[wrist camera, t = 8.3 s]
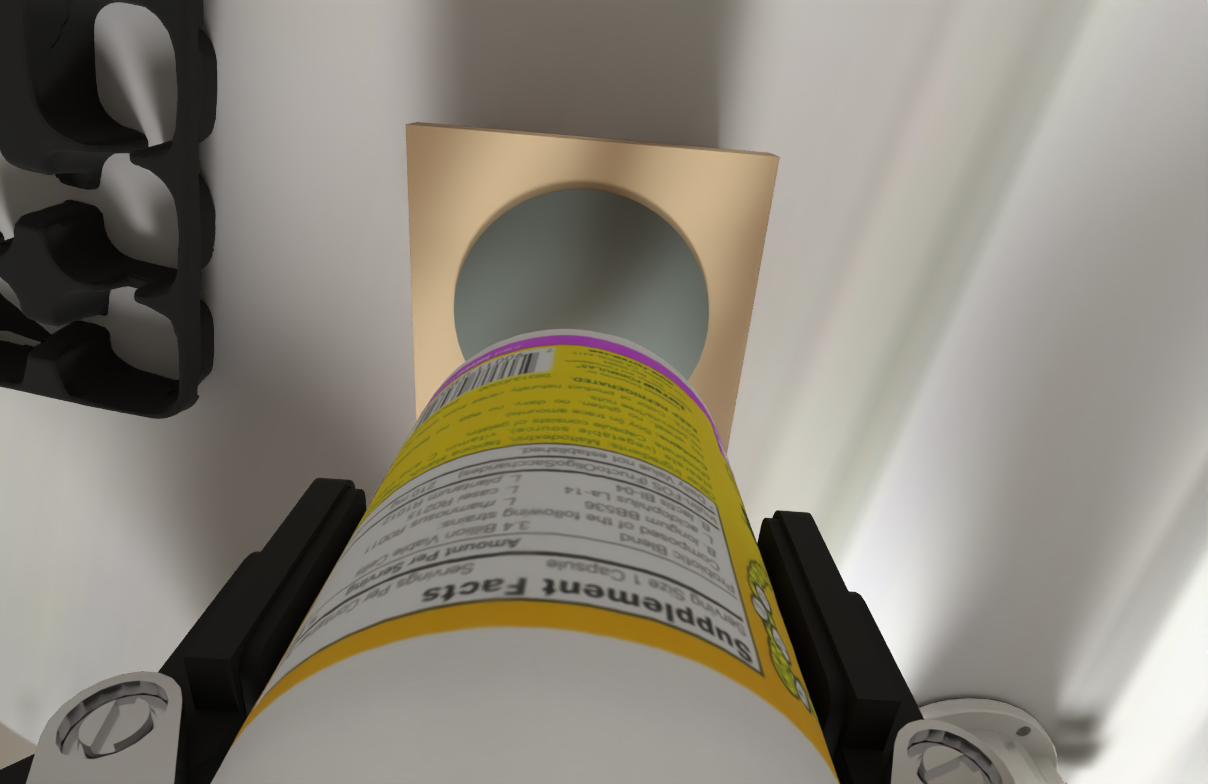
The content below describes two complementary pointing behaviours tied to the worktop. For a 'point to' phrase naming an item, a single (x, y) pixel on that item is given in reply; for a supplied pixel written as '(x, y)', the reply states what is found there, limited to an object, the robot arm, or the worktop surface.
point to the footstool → (585, 248)
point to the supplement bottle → (545, 598)
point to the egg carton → (76, 230)
